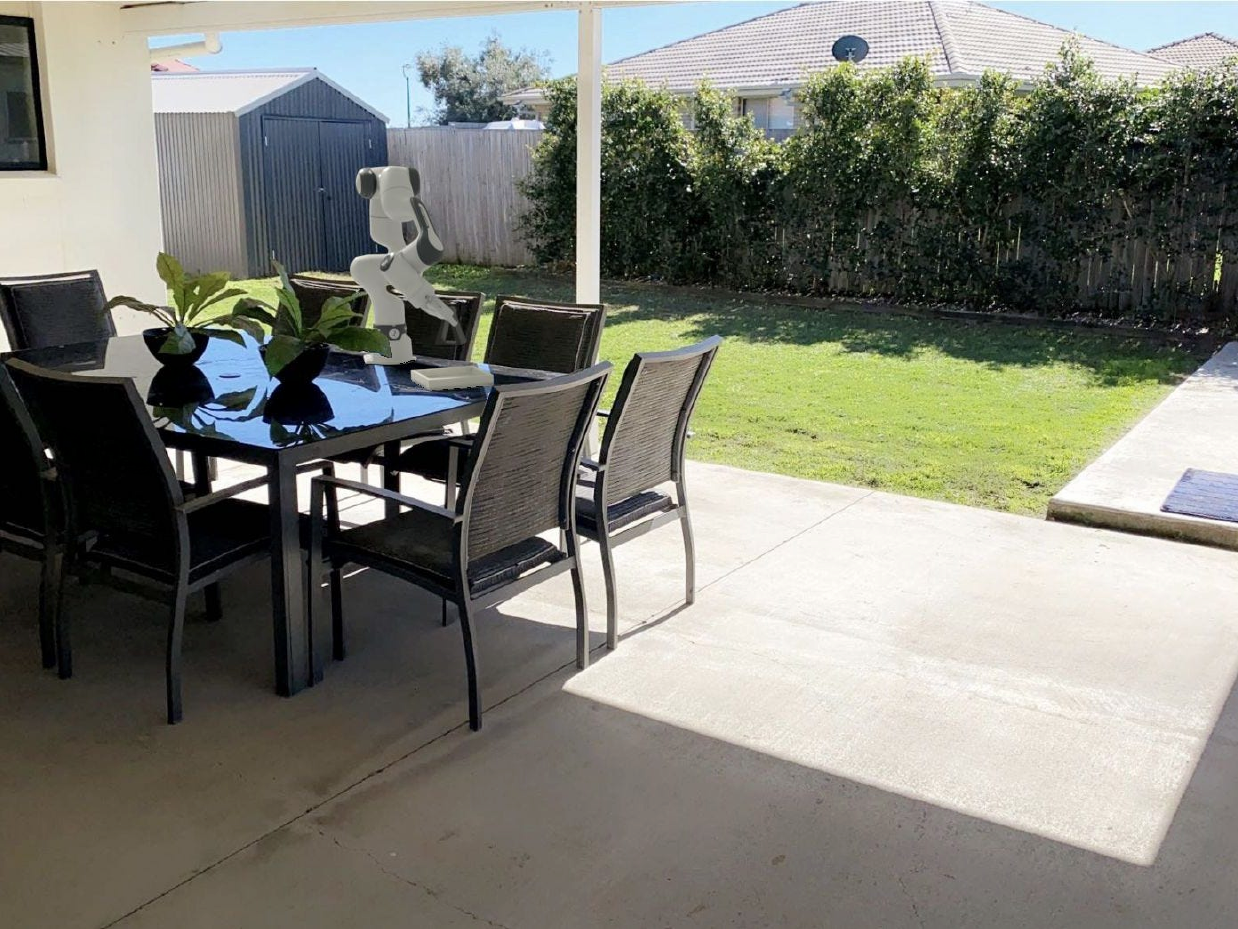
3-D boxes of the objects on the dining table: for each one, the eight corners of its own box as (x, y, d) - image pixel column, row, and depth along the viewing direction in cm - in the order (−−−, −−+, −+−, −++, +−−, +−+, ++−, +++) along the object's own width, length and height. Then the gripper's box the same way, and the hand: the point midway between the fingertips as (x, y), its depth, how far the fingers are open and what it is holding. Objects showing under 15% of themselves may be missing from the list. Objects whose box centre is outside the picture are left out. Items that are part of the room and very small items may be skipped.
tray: (411, 380, 389) (410, 370, 388) (473, 375, 398) (473, 365, 397) (429, 391, 372) (428, 380, 371) (493, 385, 381) (493, 375, 380)
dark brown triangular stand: (466, 342, 384) (465, 305, 381) (461, 344, 378) (460, 308, 375) (440, 341, 385) (438, 305, 382) (434, 344, 379) (433, 307, 376)
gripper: (438, 290, 365) (468, 320, 372) (419, 284, 383) (448, 312, 389) (424, 305, 364) (455, 334, 371) (406, 298, 382) (436, 326, 388)
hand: (451, 323), depth 380 cm, fingers closed on dark brown triangular stand, 6 cm apart
